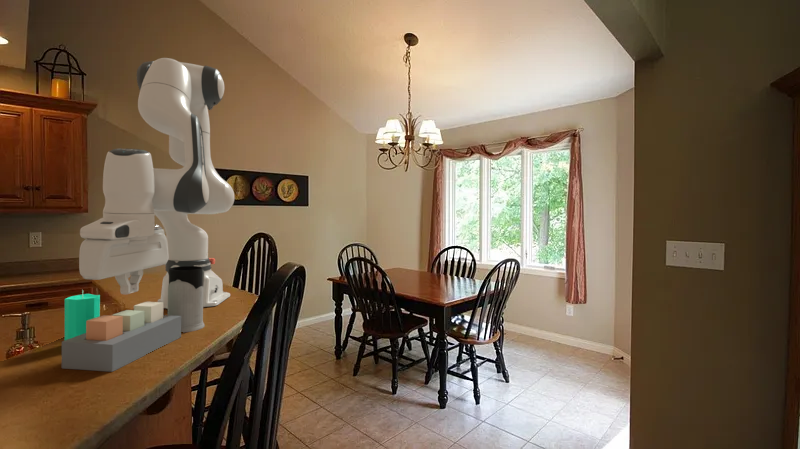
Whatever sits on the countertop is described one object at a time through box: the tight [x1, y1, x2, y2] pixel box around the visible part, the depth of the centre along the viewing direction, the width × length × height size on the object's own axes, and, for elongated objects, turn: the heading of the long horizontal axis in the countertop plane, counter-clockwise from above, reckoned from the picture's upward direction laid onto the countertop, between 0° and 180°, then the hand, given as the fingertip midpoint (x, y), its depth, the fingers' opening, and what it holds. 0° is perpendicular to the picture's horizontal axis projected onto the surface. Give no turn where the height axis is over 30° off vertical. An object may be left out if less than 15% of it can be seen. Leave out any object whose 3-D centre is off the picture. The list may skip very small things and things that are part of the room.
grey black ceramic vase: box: [167, 266, 205, 333], centre depth 103 cm, size 9×14×15 cm, turn 3°
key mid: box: [111, 309, 145, 331], centre depth 83 cm, size 4×4×6 cm
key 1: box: [86, 314, 123, 341], centre depth 77 cm, size 4×4×6 cm
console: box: [61, 314, 182, 373], centre depth 83 cm, size 20×10×5 cm, turn 176°
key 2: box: [133, 301, 164, 323], centre depth 89 cm, size 4×4×6 cm
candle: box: [64, 289, 101, 341], centre depth 86 cm, size 6×6×12 cm
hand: (129, 292), depth 83 cm, fingers closed
